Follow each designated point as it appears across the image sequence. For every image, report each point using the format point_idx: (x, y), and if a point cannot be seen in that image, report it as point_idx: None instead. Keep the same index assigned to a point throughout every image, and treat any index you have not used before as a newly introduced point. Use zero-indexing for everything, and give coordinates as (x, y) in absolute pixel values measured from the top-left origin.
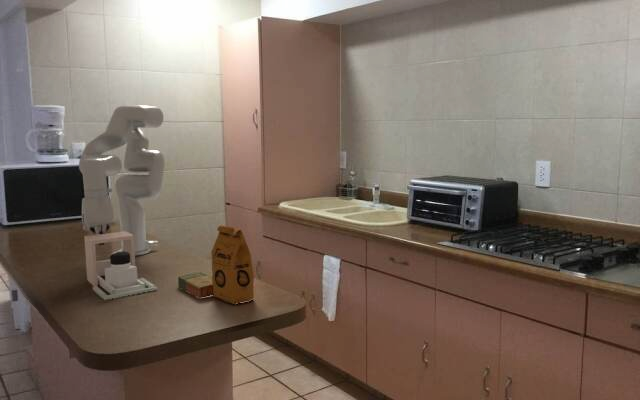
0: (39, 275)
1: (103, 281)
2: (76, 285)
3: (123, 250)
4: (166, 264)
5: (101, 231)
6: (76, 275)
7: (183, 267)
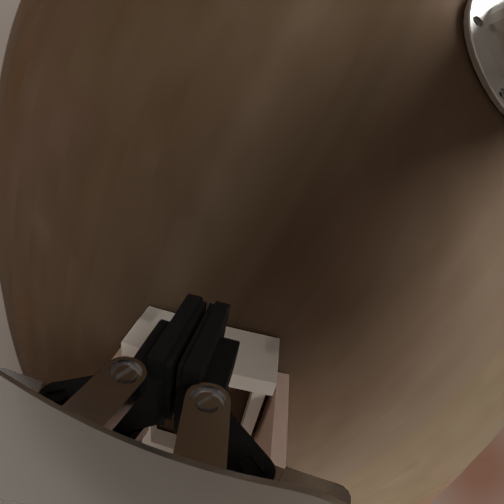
0: (30, 112)
1: (144, 441)
2: (91, 350)
3: (269, 457)
4: (464, 360)
5: (177, 430)
6: (118, 228)
7: (448, 420)
